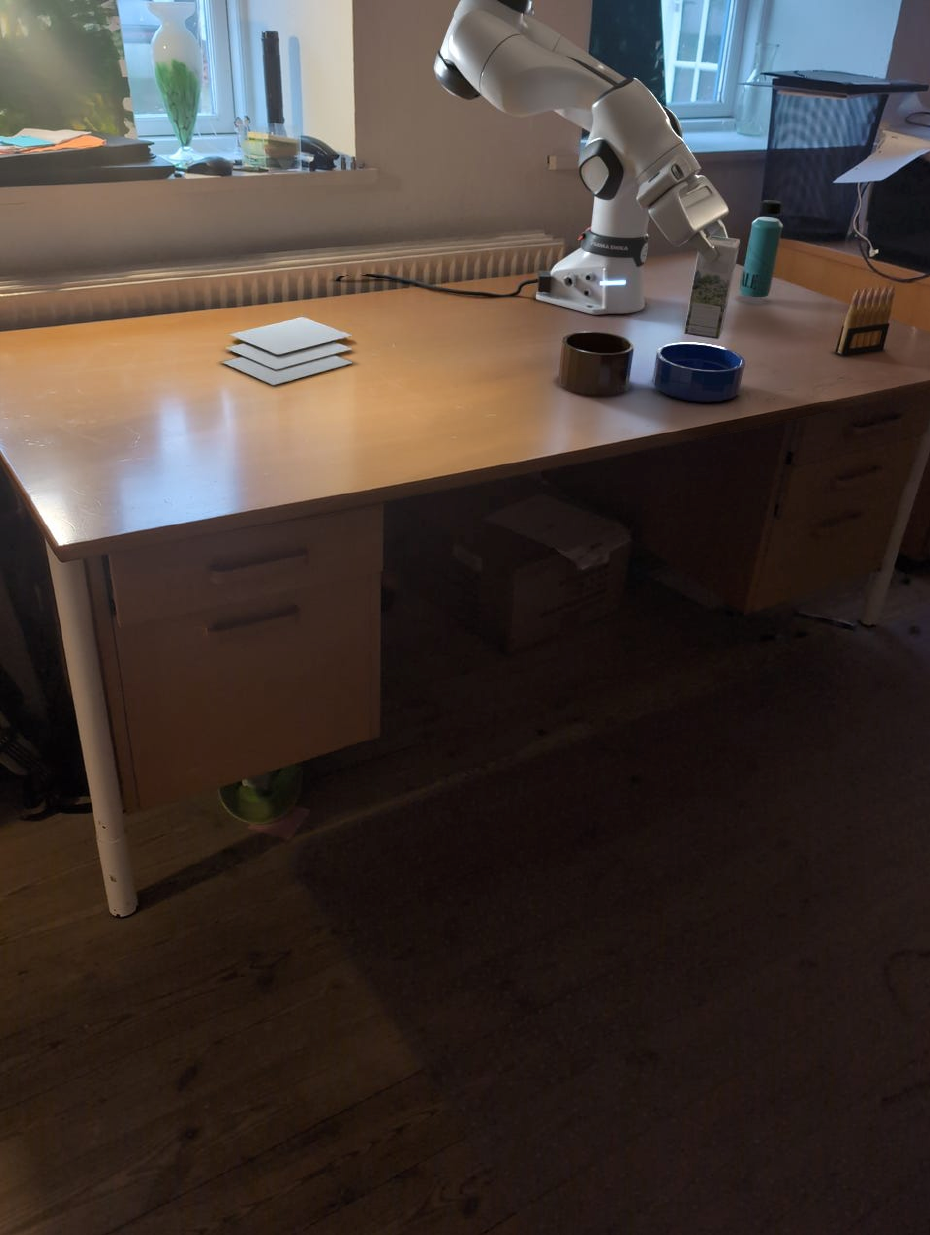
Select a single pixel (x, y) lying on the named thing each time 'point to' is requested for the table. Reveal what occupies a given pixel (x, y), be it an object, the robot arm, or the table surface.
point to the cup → (595, 364)
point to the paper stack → (288, 350)
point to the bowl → (698, 372)
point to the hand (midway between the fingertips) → (721, 255)
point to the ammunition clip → (866, 322)
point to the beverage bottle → (762, 252)
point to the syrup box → (711, 289)
